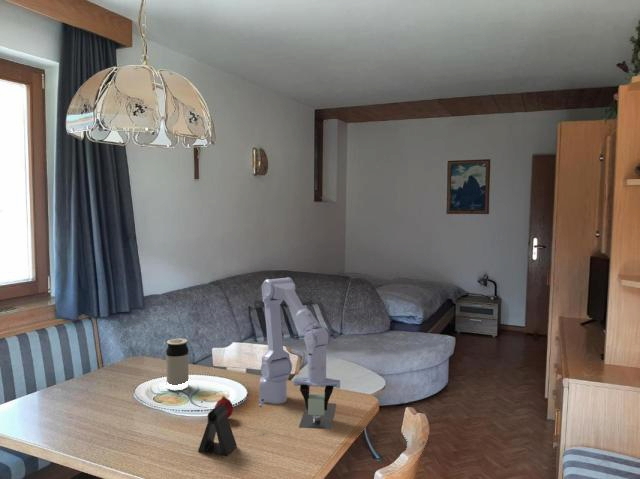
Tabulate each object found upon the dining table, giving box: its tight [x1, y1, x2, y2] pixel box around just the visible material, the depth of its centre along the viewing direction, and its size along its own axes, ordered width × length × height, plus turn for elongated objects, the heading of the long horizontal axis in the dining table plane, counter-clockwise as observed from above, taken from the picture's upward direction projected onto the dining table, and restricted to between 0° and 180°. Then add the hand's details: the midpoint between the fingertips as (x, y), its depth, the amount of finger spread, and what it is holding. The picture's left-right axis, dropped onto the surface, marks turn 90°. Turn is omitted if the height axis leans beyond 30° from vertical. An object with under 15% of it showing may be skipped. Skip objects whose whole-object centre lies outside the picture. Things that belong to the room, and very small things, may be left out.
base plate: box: [298, 402, 337, 430], centre depth 160 cm, size 10×20×4 cm, turn 174°
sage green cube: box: [308, 392, 325, 415], centre depth 155 cm, size 5×5×5 cm
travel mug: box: [165, 338, 189, 385], centre depth 187 cm, size 8×8×18 cm
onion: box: [214, 395, 234, 418], centre depth 158 cm, size 6×6×8 cm
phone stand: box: [197, 404, 237, 457], centre depth 139 cm, size 9×6×12 cm, turn 75°
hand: (316, 408), depth 155 cm, fingers closed on sage green cube, 5 cm apart
